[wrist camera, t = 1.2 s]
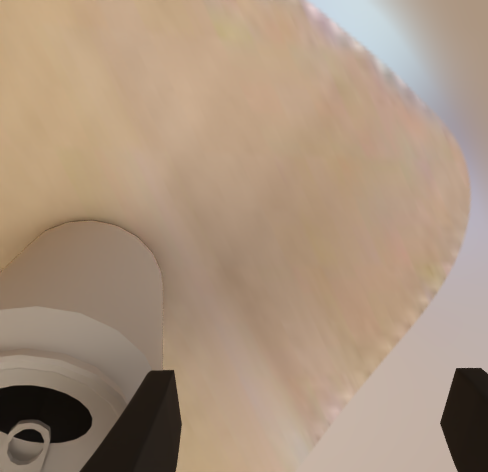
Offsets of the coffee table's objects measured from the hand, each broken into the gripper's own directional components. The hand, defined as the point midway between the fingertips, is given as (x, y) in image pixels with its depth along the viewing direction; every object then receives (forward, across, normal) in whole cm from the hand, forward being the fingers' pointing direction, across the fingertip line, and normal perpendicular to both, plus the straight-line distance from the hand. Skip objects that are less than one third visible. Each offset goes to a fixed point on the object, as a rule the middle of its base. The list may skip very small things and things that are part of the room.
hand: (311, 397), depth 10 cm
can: (+11, +10, +4) cm, 15 cm away
